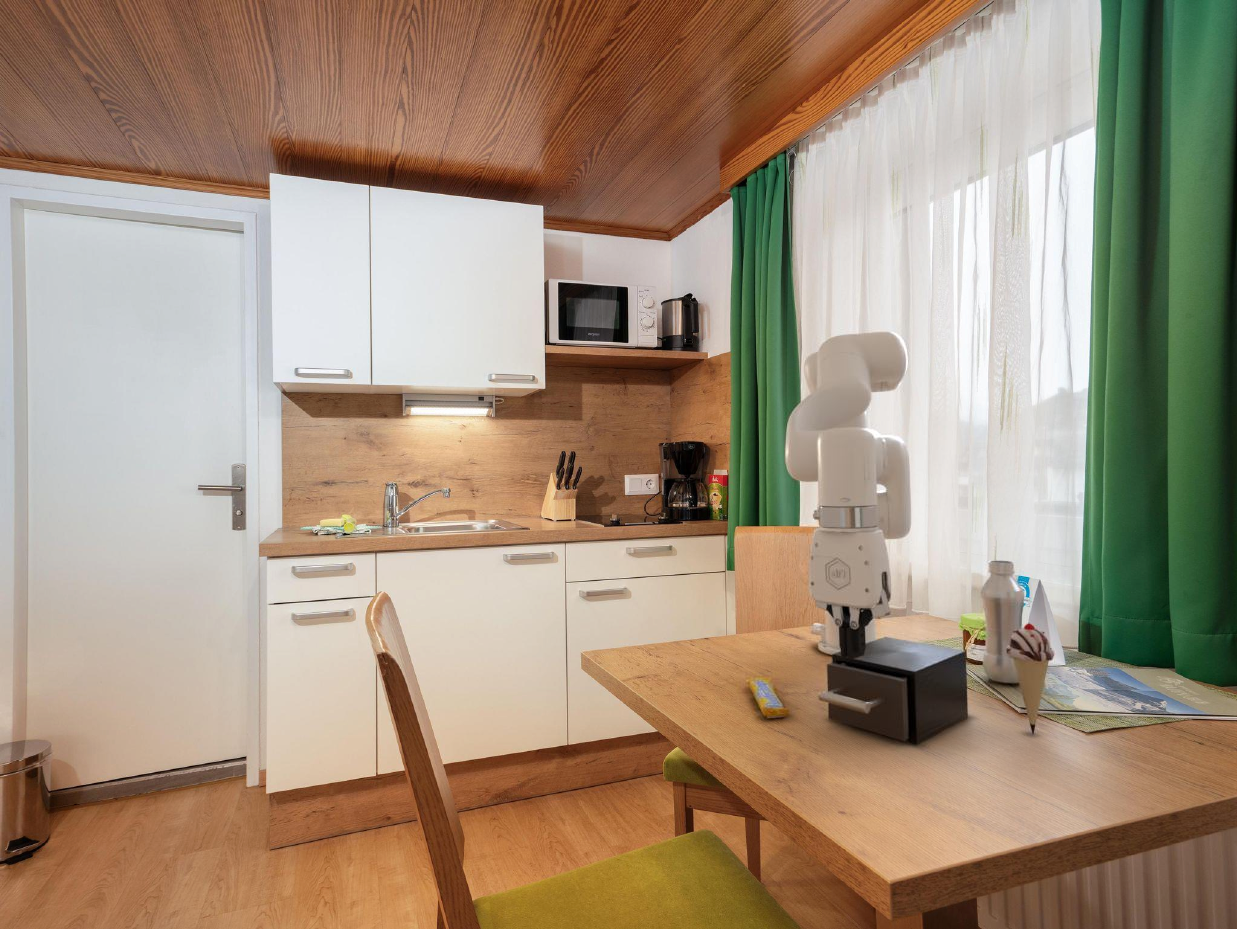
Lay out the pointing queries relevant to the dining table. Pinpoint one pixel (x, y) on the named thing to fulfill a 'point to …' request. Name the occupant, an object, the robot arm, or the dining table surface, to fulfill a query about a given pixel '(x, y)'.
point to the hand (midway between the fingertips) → (852, 655)
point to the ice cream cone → (1030, 666)
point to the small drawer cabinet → (922, 681)
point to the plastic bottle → (1001, 620)
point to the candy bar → (766, 697)
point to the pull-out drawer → (869, 699)
